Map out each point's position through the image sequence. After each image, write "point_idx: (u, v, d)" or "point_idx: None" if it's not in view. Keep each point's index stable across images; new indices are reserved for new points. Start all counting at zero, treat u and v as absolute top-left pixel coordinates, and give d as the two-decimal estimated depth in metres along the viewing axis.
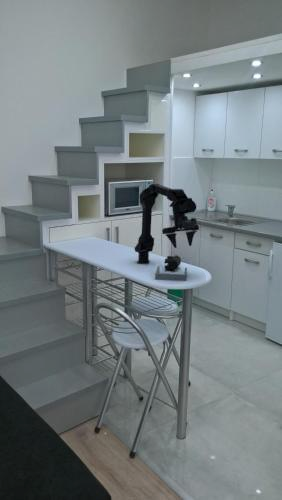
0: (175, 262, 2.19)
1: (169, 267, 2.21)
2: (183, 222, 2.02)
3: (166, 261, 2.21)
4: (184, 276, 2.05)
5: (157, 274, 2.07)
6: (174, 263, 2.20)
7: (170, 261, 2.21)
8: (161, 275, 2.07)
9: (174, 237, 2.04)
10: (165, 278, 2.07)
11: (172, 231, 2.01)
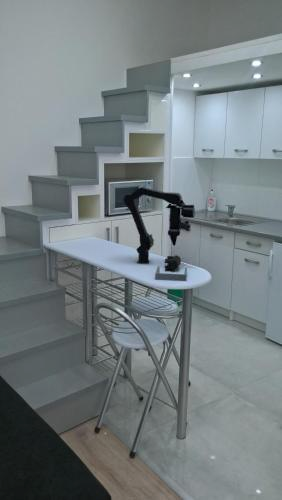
0: (175, 262, 2.19)
1: (169, 267, 2.21)
2: (185, 225, 2.27)
3: (166, 261, 2.21)
4: (184, 276, 2.05)
5: (157, 274, 2.07)
6: (174, 263, 2.20)
7: (170, 261, 2.21)
8: (161, 275, 2.07)
9: None
10: (165, 278, 2.07)
11: (179, 233, 2.23)
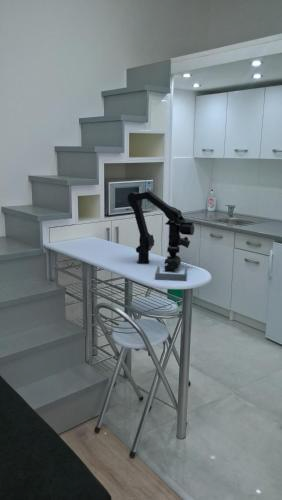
0: (175, 262, 2.18)
1: (169, 267, 2.20)
2: (184, 242, 2.26)
3: (166, 261, 2.20)
4: (184, 276, 2.05)
5: (157, 274, 2.07)
6: (174, 263, 2.19)
7: (170, 261, 2.19)
8: (161, 275, 2.07)
9: None
10: (165, 278, 2.07)
11: None
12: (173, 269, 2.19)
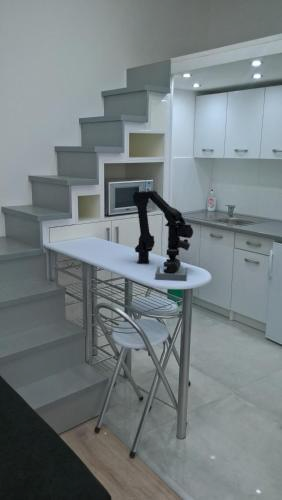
0: (174, 265, 2.12)
1: (168, 271, 2.14)
2: (184, 244, 2.20)
3: (165, 264, 2.14)
4: (184, 276, 2.05)
5: (157, 274, 2.07)
6: (173, 266, 2.13)
7: (169, 264, 2.13)
8: (161, 275, 2.07)
9: None
10: (165, 278, 2.07)
11: (178, 253, 2.16)
12: (172, 272, 2.13)
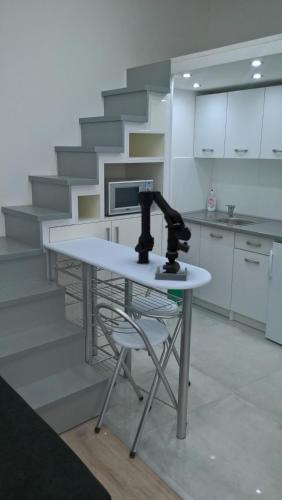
0: (174, 269, 2.07)
1: None
2: (183, 247, 2.14)
3: (164, 267, 2.08)
4: (184, 276, 2.05)
5: (157, 274, 2.07)
6: (173, 270, 2.07)
7: (168, 267, 2.08)
8: (161, 275, 2.07)
9: (175, 258, 2.17)
10: (165, 278, 2.07)
11: None
12: None
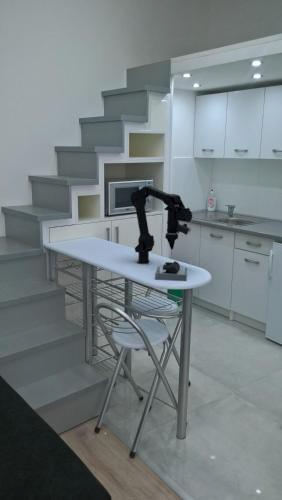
0: (174, 269, 2.07)
1: None
2: (183, 228, 2.18)
3: (164, 268, 2.08)
4: (184, 276, 2.05)
5: (157, 274, 2.07)
6: (173, 270, 2.07)
7: (168, 268, 2.08)
8: (161, 275, 2.07)
9: None
10: (165, 278, 2.07)
11: (177, 237, 2.14)
12: None
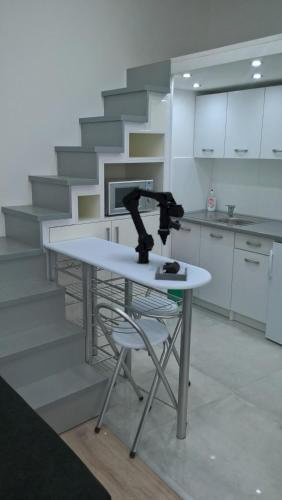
0: (174, 269, 2.07)
1: None
2: (175, 224, 2.22)
3: (164, 268, 2.08)
4: (184, 276, 2.05)
5: (157, 274, 2.07)
6: (173, 270, 2.07)
7: (168, 268, 2.08)
8: (161, 275, 2.07)
9: None
10: (165, 278, 2.07)
11: (169, 233, 2.18)
12: None
